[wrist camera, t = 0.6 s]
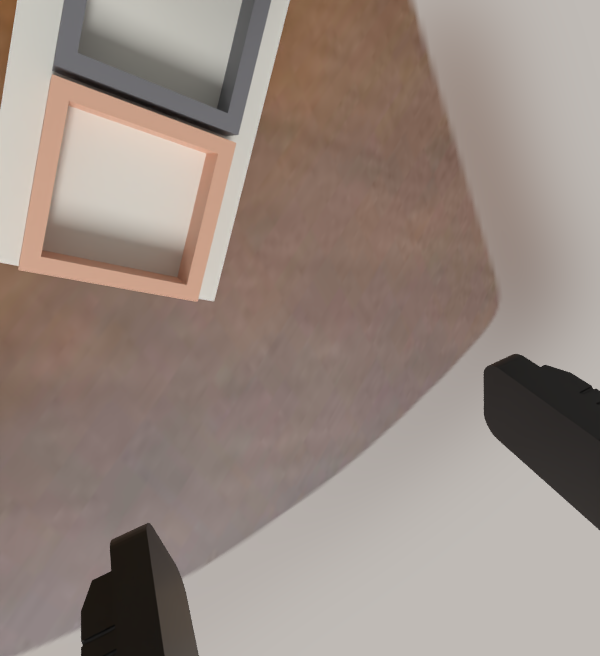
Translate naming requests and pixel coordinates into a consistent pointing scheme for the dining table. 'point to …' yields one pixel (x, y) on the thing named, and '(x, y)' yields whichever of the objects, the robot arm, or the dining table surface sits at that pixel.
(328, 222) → the dining table surface
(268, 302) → the dining table surface
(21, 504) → the dining table surface
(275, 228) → the dining table surface
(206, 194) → the board
